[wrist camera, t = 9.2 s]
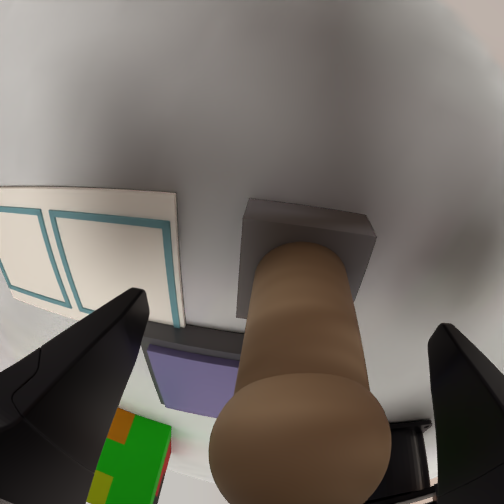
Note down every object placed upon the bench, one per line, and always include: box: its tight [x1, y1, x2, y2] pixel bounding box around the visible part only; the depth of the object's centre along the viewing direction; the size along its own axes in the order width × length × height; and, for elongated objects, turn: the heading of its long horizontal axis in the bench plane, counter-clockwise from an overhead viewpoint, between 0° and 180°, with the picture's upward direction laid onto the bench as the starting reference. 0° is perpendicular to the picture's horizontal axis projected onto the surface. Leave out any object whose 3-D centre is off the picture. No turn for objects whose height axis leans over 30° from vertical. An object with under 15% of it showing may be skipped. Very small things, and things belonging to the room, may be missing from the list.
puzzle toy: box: [86, 408, 171, 504], centre depth 20 cm, size 10×10×10 cm
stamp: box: [209, 198, 392, 504], centre depth 7 cm, size 4×4×9 cm
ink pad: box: [141, 321, 244, 418], centre depth 14 cm, size 7×7×2 cm
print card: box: [0, 187, 186, 329], centre depth 12 cm, size 13×8×1 cm, turn 86°
